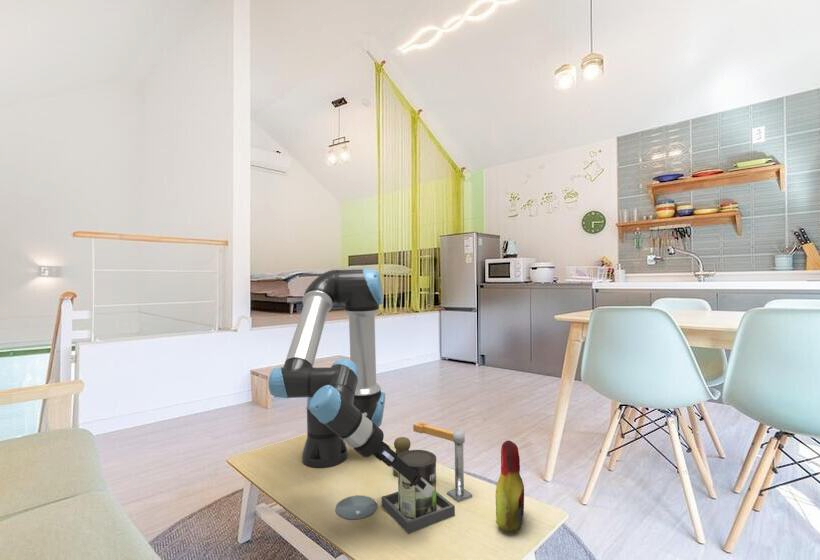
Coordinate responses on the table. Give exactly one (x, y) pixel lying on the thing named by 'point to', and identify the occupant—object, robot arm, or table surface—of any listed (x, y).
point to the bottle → (509, 489)
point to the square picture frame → (421, 521)
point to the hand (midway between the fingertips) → (416, 480)
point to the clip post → (459, 477)
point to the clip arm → (440, 432)
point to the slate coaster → (356, 507)
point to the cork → (401, 448)
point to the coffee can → (411, 497)
